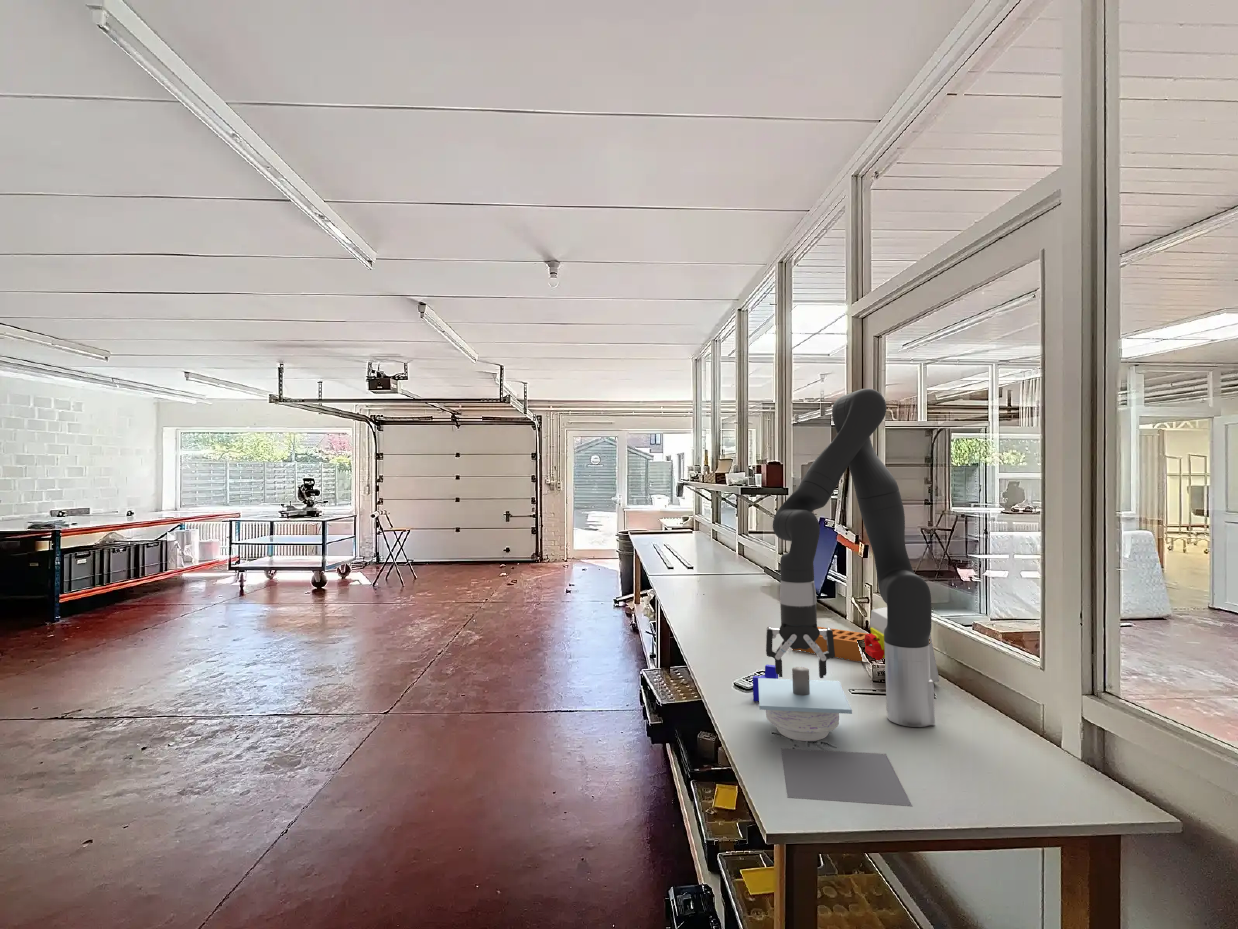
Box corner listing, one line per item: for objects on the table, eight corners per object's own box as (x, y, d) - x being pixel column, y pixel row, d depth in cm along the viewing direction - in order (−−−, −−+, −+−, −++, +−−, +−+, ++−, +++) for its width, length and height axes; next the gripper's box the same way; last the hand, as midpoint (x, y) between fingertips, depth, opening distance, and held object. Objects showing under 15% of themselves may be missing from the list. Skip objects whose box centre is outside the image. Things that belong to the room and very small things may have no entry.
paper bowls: (855, 740, 132) (854, 702, 132) (795, 754, 126) (794, 714, 126) (809, 716, 146) (808, 681, 146) (752, 727, 140) (751, 691, 141)
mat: (886, 756, 124) (886, 753, 124) (912, 809, 104) (912, 806, 104) (781, 750, 128) (781, 748, 128) (787, 800, 108) (787, 797, 108)
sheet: (839, 684, 143) (838, 658, 143) (851, 713, 126) (850, 684, 126) (758, 681, 147) (757, 656, 147) (759, 709, 129) (758, 681, 129)
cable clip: (761, 686, 168) (761, 663, 168) (778, 688, 166) (777, 665, 166) (747, 700, 157) (746, 676, 157) (765, 703, 155) (764, 679, 155)
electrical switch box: (863, 678, 178) (849, 608, 178) (915, 669, 177) (902, 599, 178) (883, 696, 163) (868, 620, 164) (940, 687, 163) (926, 610, 163)
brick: (791, 651, 201) (791, 632, 201) (808, 643, 210) (807, 625, 210) (870, 664, 184) (869, 644, 185) (885, 655, 193) (884, 636, 193)
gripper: (830, 598, 139) (832, 672, 139) (763, 597, 142) (766, 670, 141) (834, 605, 132) (837, 683, 131) (764, 604, 135) (767, 681, 134)
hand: (800, 676), depth 136 cm, fingers open, 8 cm apart
